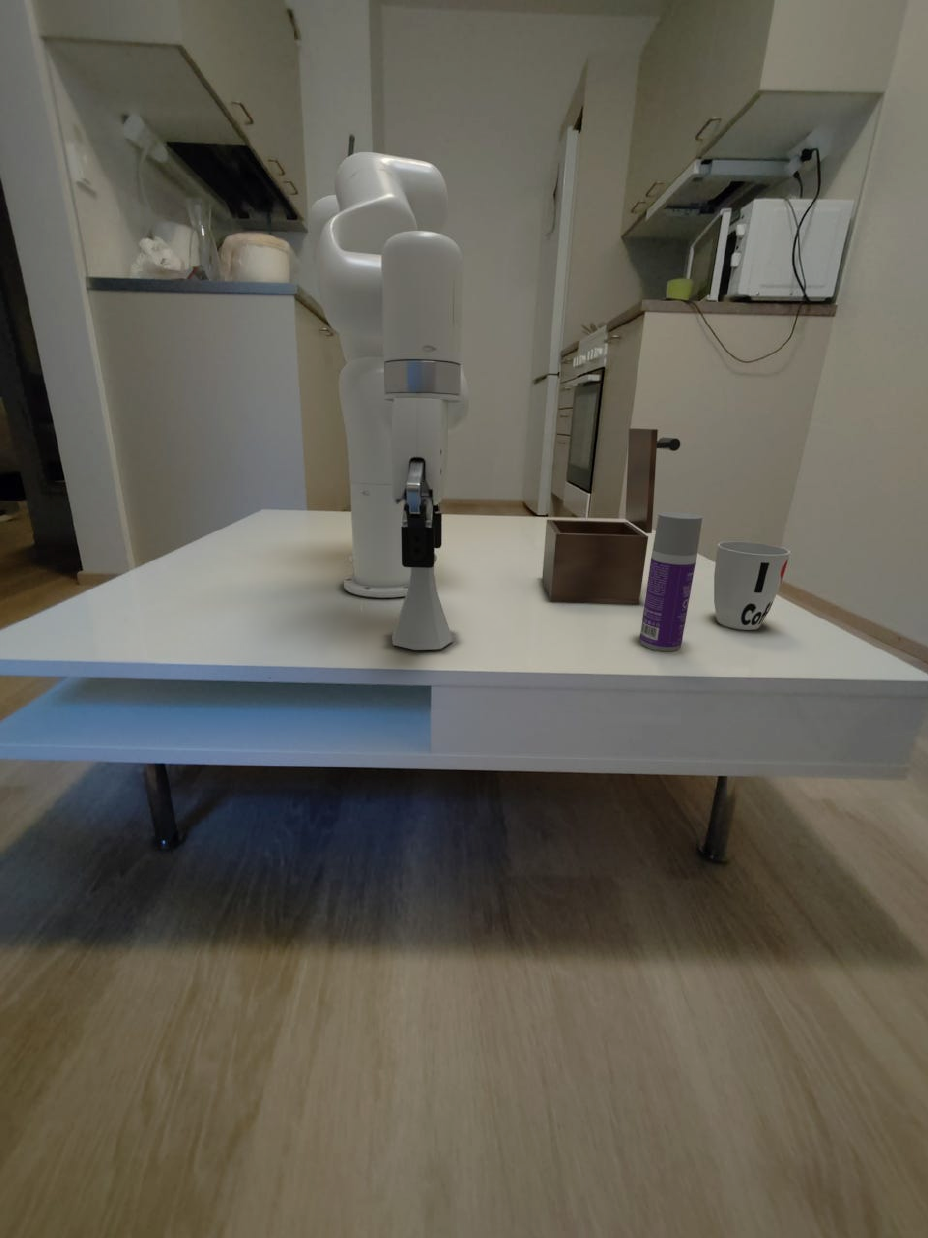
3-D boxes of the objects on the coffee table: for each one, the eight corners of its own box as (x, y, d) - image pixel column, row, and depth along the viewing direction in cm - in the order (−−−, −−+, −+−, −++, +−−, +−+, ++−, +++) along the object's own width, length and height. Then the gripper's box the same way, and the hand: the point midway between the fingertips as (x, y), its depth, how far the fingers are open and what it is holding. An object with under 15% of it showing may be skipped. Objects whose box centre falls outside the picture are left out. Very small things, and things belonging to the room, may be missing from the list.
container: (684, 653, 61) (708, 519, 56) (641, 649, 62) (660, 517, 57) (677, 638, 66) (699, 513, 61) (637, 634, 67) (655, 510, 61)
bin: (550, 601, 78) (556, 533, 75) (542, 579, 89) (546, 519, 86) (638, 604, 78) (648, 536, 75) (619, 582, 89) (627, 521, 85)
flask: (382, 649, 60) (380, 561, 57) (400, 626, 67) (399, 546, 64) (447, 655, 59) (448, 565, 56) (458, 631, 66) (460, 550, 63)
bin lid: (651, 429, 70) (690, 427, 70) (629, 428, 81) (662, 426, 81) (645, 533, 74) (682, 531, 74) (625, 519, 85) (657, 517, 85)
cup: (744, 638, 66) (761, 557, 63) (690, 617, 73) (703, 543, 70) (786, 628, 70) (804, 551, 67) (731, 609, 77) (745, 539, 73)
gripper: (397, 391, 62) (400, 540, 68) (367, 376, 46) (373, 575, 51) (463, 392, 62) (460, 542, 67) (456, 377, 45) (453, 577, 51)
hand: (423, 556), depth 59 cm, fingers open, 9 cm apart
